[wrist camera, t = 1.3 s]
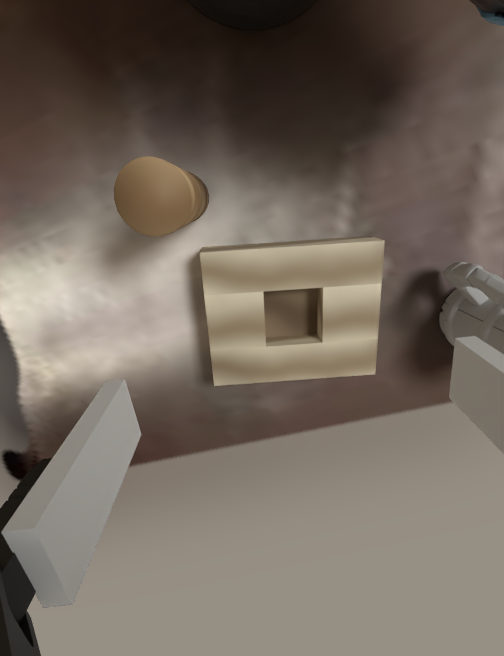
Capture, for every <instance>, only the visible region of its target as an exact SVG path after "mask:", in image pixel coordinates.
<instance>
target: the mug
mask: <svg viewBox="0 0 504 656" xmlns="http://www.w3.org/2000/svg"><path fill="white" fill-rule="evenodd" d="M443 275H444V276H445V277H446V279H447V280H448V281H449V282H450V283H452V284H453V285H454V286H455V287H456V288H457V289H456V290H454V291H453V292H452V293H451V294H450V295H449V296H448V298H447V299H446V300H445V302H446V303H444V304H443V306H442V309H443V312H441V313H440V316H439V323H440V327H441V330H442V332H443V333H444V334H445V336H446V338H447V340H448V341H449V342H450V343H451V344H452V345H453V346H454V345H455V338H461V337H469V336H476V337H478V338H479V339H481V340H482V341H484V342H485V343H487V344H488V345H490V346H491V347H493V348H494V349H496V350H498V351H499V352H501V353H502V354H504V279H502V278H501V277H499V276H498V275H496V274H491V273H489V272H487V271H485V270H483V267H481V266H479V265H477V264H473V263H464V262H457V263H454V264H452V265H450V266H448V267H447V268H446V269H445V270H444V271H443Z"/></svg>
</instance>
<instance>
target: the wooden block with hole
mask: <svg viewBox="0 0 504 656" xmlns="http://www.w3.org/2000/svg"><path fill="white" fill-rule="evenodd" d="M383 255H384V240H381V239H378V238H375V237H371V236H366V237H351V238H336V239H321V240H306V241H290V242H275V243H260V244H245V245H230V246H215V247H203V248H202V250H201V251H200V262H201V271H202V280H203V289H204V298H205V307H206V316H207V325H208V334H209V343H210V352H211V362H212V371H213V380H214V386H221V385H234V384H248V383H262V382H275V381H289V380H303V379H316V378H330V377H344V376H357V375H371V374H375V370H376V356H377V341H378V327H379V313H380V298H381V284H382V269H383Z"/></svg>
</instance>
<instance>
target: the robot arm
mask: <svg viewBox="0 0 504 656" xmlns="http://www.w3.org/2000/svg"><path fill="white" fill-rule="evenodd" d="M187 1H188V2H189V3H191V4H192V5H193V6H194V7H195V8H196V9H197V10H199V11H200V12H201V13H203V14H204V15H206V16H207V17H209V18H211V19H212V20H214V21H216V22H218V23H221V24H223V25H226V26H229V27H233V28H237V29H243V30H261V29H268V28H272V27H275V26H279V25H281V24H284V23H286V22H288V21H290V20H292V19H294V18H295V17H297V16H299V15H300V14H301V13H303V12H304V11H305V10H306V9H308V8H309V7H310V6H311V5H312V4H313V3H314V2H315V1H316V0H187ZM470 1H471V2H472V3H473V4H474V5H476V7H477V9H478V10H479V12H480V14H481V16H482V17H483V18H484V19H485V20H487V21H489V22H490V23H493V24H497V25H504V0H470ZM449 398H450V399H451V400H452V401H453V402H454V403H455V404H456V405H457V406H458V407H459V408H460V409H461V410H462V412H463V413H464V414H465V415H466V416H467V417H468V418H469V419H470V420H471V421H472V422H473V423H474V424H475V425H476V426H477V427H478V428H479V429H480V430H481V431H482V432H483V433H484V434H485V435H486V436H487V437H488V438H489V439H490V440H491V441H492V442H493V443H494V444H495V445H496V446H497V447H498V449H499V450H500V451H501V452H502V453H503V454H504V354H502V353H501V352H499V351H498V350H496V349H494V348H493V347H491V346H490V345H488V344H487V343H485V342H484V341H482V340H481V339H479V338H478V337H476V336H469V337H461V338H455V345H454V355H453V365H452V375H451V385H450V395H449ZM140 437H141V432H140V428H139V425H138V422H137V418H136V415H135V411H134V408H133V405H132V401H131V398H130V395H129V391H128V388H127V385H126V381H125V379H120V380H111V381H106V382H105V383H104V385H103V386H102V388H101V389H100V390H99V392H98V393H97V395H96V396H95V398H94V399H93V401H92V402H91V403H90V405H89V406H88V408H87V409H86V411H85V412H84V413H83V415H82V416H81V418H80V419H79V421H78V422H77V424H76V425H75V426H74V428H73V429H72V431H71V432H70V434H69V435H68V437H67V438H66V439H65V441H64V442H63V444H62V445H61V447H60V448H59V449H58V451H57V452H56V454H55V455H54V457H53V458H49V459H43V460H41V461H40V462H39V463H38V464H37V465H36V466H34V467H33V468H32V469H31V470H30V471H28V472H27V474H26V475H25V476H24V478H23V479H22V480H21V482H20V483H19V484H18V486H17V489H15V490H14V491H13V492H12V494H11V495H10V496H9V499H8V501H6V502H5V503H4V504H3V506H2V507H1V508H0V656H41V654H40V650H39V647H38V643H37V639H36V635H35V632H34V628H33V624H32V620H31V617H30V616H29V614H28V612H27V609H28V607H29V605H30V603H31V601H32V598H33V597H34V595H35V594H36V596H37V598H38V599H39V601H40V603H41V605H42V607H43V608H48V607H56V606H66V605H73V603H74V600H75V598H76V595H77V593H78V590H79V588H80V585H81V583H82V580H83V578H84V575H85V573H86V570H87V568H88V566H89V563H90V561H91V558H92V556H93V553H94V551H95V548H96V546H97V543H98V541H99V538H100V536H101V533H102V531H103V528H104V526H105V523H106V521H107V518H108V516H109V513H110V511H111V509H112V506H113V504H114V501H115V499H116V496H117V494H118V491H119V489H120V486H121V484H122V481H123V479H124V476H125V474H126V471H127V469H128V466H129V464H130V462H131V459H132V457H133V454H134V452H135V449H136V447H137V444H138V442H139V439H140Z"/></svg>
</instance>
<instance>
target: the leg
mask: <svg viewBox="0 0 504 656" xmlns="http://www.w3.org/2000/svg"><path fill="white" fill-rule="evenodd" d="M114 200H115V204H116V207H117V210H118V212H119V214H120V216H121V217H122V219H123V220H124V221H125V222H126V223H127V224H128V225H129V226H130V227H131V228H132V229H134V230H135V231H137V232H139V233H141V234H144V235H148V236H163V235H167V234H169V233H172V232H173V231H175V230H177V229H179V228H181V227H182V226H184V225H186V224H188V223H190V222H192V221H195V220H196V219H198V218H199V217H200V216H201V215H203V213H204V212H205V211H206V209H207V206H208V203H209V194H208V190H207V188H206V186H205V184H204V183H203V182H202V181H201V180H200V179H199V178H198V177H197V176H195V175H194V174H192V173H190V172H187V171H185V170H183V169H181V168H179V167H177V166H175V165H173V164H171V163H169V162H167V161H165V160H162V159H160V158H156V157H140V158H137V159H135V160H132V161H131V162H129V163H128V164H126V165H125V166H124V167H123V168H122V170H121V171H120V173H119V174H118V176H117V179H116V182H115V186H114Z"/></svg>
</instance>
